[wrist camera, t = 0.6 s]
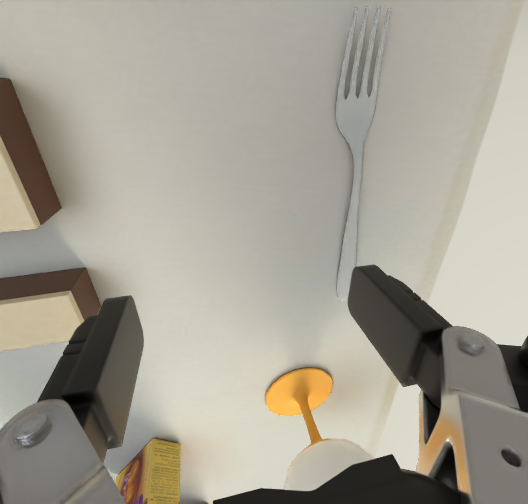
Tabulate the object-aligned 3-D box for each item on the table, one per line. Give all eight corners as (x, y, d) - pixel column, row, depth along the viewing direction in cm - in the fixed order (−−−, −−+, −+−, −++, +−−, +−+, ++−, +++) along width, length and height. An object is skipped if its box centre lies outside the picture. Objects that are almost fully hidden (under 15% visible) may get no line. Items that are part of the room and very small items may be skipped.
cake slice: (-43, 284, 21) (-86, 317, 18) (85, 267, 23) (67, 295, 20) (-16, 323, 23) (-51, 360, 20) (101, 305, 25) (87, 337, 22)
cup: (246, 423, 37) (278, 634, 23) (266, 359, 32) (324, 575, 18) (325, 418, 41) (398, 598, 26) (354, 359, 36) (465, 540, 21)
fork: (330, 303, 30) (337, 314, 29) (336, 14, 18) (349, 6, 17) (357, 297, 31) (366, 307, 29) (381, 11, 19) (398, 3, 17)
